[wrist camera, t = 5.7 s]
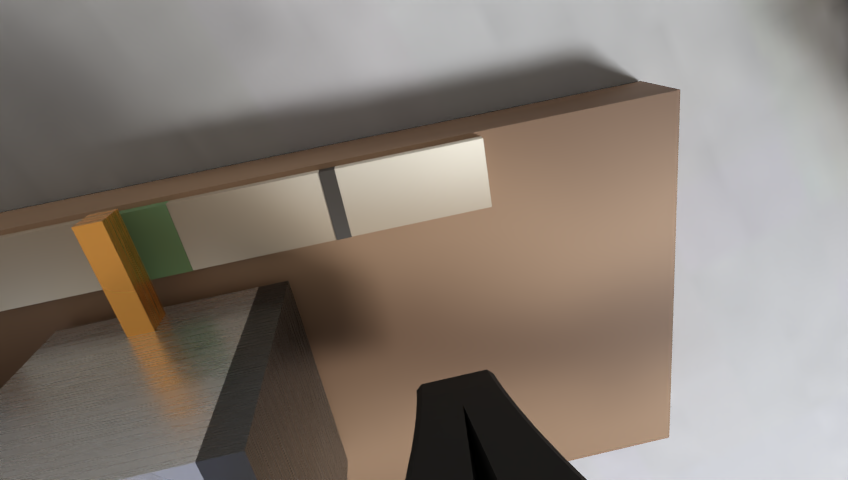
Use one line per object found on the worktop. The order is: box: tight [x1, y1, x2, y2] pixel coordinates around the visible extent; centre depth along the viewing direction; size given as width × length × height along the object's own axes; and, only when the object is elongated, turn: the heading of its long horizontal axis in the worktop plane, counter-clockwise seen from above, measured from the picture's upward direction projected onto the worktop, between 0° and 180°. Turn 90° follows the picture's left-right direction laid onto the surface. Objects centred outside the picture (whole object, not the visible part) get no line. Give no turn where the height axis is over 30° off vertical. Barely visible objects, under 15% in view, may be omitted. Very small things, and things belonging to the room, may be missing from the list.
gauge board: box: [0, 81, 680, 480], centre depth 10 cm, size 9×18×6 cm, turn 100°
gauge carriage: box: [0, 209, 348, 480], centre depth 9 cm, size 7×5×4 cm, turn 10°
